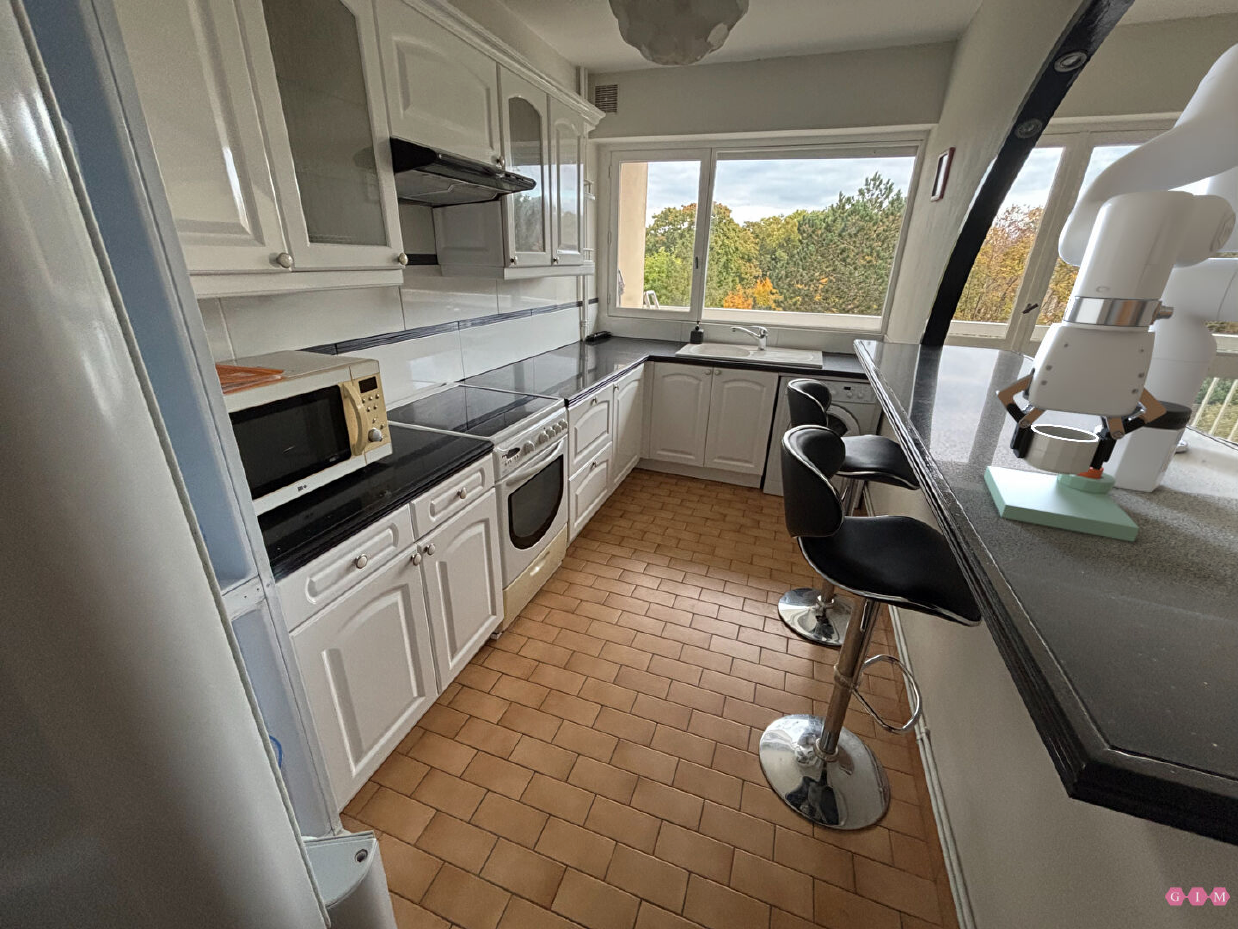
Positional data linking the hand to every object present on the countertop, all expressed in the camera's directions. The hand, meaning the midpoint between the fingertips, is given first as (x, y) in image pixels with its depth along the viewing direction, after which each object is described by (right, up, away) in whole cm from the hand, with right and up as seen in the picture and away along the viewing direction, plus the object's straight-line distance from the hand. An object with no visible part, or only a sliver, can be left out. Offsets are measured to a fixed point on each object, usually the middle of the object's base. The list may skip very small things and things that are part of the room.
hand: (1054, 459), depth 64 cm
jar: (+21, -3, +13) cm, 25 cm away
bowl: (0, -1, 0) cm, 1 cm away
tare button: (+10, -2, +6) cm, 12 cm away
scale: (+3, -6, +4) cm, 8 cm away
